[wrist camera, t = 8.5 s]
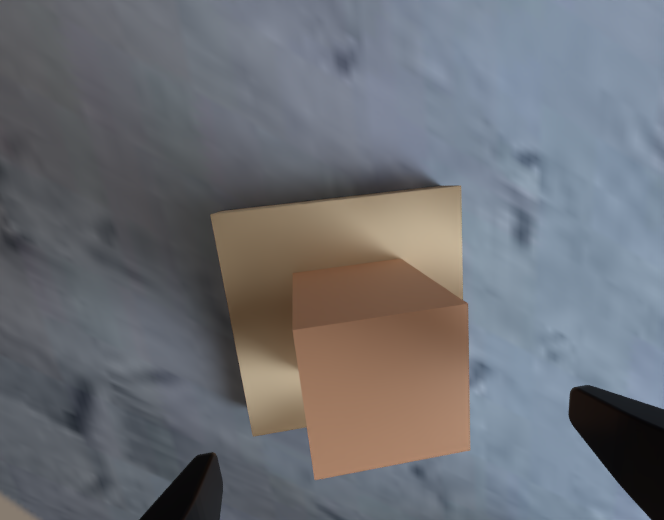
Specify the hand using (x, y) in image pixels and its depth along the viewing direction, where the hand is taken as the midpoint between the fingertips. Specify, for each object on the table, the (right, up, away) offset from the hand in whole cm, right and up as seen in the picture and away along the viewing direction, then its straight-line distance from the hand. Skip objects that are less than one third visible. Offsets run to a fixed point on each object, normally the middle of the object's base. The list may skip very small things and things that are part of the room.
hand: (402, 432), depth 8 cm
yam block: (-1, +2, +7) cm, 8 cm away
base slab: (-1, +2, +9) cm, 10 cm away
